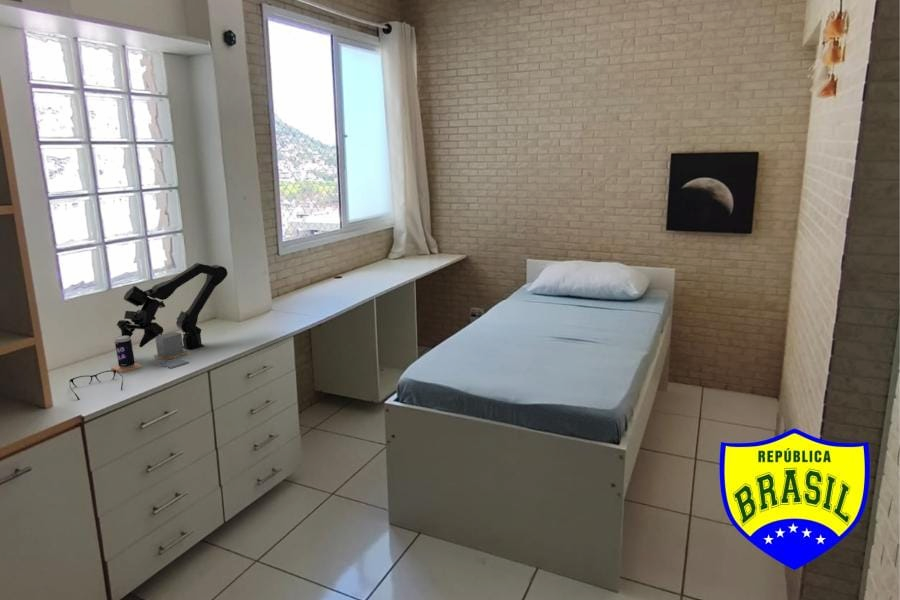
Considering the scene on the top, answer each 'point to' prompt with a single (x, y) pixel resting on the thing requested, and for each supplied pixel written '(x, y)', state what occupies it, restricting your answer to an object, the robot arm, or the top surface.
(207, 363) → the top surface
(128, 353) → the beverage can
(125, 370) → the terracotta pad
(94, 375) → the eyeglasses
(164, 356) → the grey unit
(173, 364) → the slate pad
